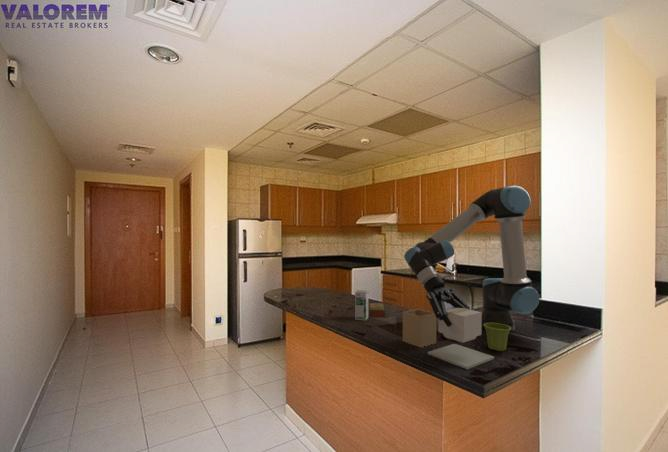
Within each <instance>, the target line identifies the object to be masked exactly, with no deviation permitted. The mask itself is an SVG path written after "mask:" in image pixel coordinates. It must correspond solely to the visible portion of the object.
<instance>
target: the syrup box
mask: <svg viewBox="0 0 668 452" xmlns="http://www.w3.org/2000/svg"><path fill="white" fill-rule="evenodd" d="M354 294H355V295H354V297H355V298H354V300H355V301H354V302H355V303H354V306H355V309H354V311H355V312H354V314H355V315H354V319H355V321H364V322H366V321H367V320H368V319H369V290H361V289H356V291H355V293H354Z"/></svg>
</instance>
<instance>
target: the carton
mask: <svg viewBox="0 0 668 452" xmlns="http://www.w3.org/2000/svg"><path fill="white" fill-rule="evenodd" d="M368 317H370V318H386V309H385V307H384V304H383V302H382V303H379V302H378V303H377V302H368Z"/></svg>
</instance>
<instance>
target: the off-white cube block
mask: <svg viewBox="0 0 668 452" xmlns="http://www.w3.org/2000/svg"><path fill="white" fill-rule="evenodd" d="M445 309H446V313H447V316H448V315H449V316H450V317H451V318H452V320H453V321H454V323H455V324H456V326H457V327H458V328H459V330H460V331H461V332H460V333H458V334H457V335H456V336H454V335H453V333H452V332H451V330H450V329H449V327H448V326H447V325H446V324H445V322H444V321H443V319H442V320H439V319H438V326H437V327H438V328H437V329H438V331H437V332H438V333H441V334H443V337H445V338H446V337H447V338H450V339H453V341H456V342H460V343H466V342H470V341H472V340H475V339H477V337H478V336H481V335H482V327H481V315H482V311H477V310H472V308H470V309H466V308H458V307H453V306H452V307H445Z"/></svg>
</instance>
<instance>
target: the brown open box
mask: <svg viewBox="0 0 668 452" xmlns="http://www.w3.org/2000/svg"><path fill="white" fill-rule="evenodd" d="M402 342H405V343H406V344H409V345H411V346H414V345H415V347H417V346H418V348H419V349H422V348H425V347H424V346H426V347H429V346H431V344H432V345H435V344H437V318H436V316H435V314H434V311H428V310H425V309H420V308H415V309H410V310H409V309H408V310H406V311H402ZM428 345H429V346H428ZM421 347H422V348H421Z"/></svg>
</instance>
